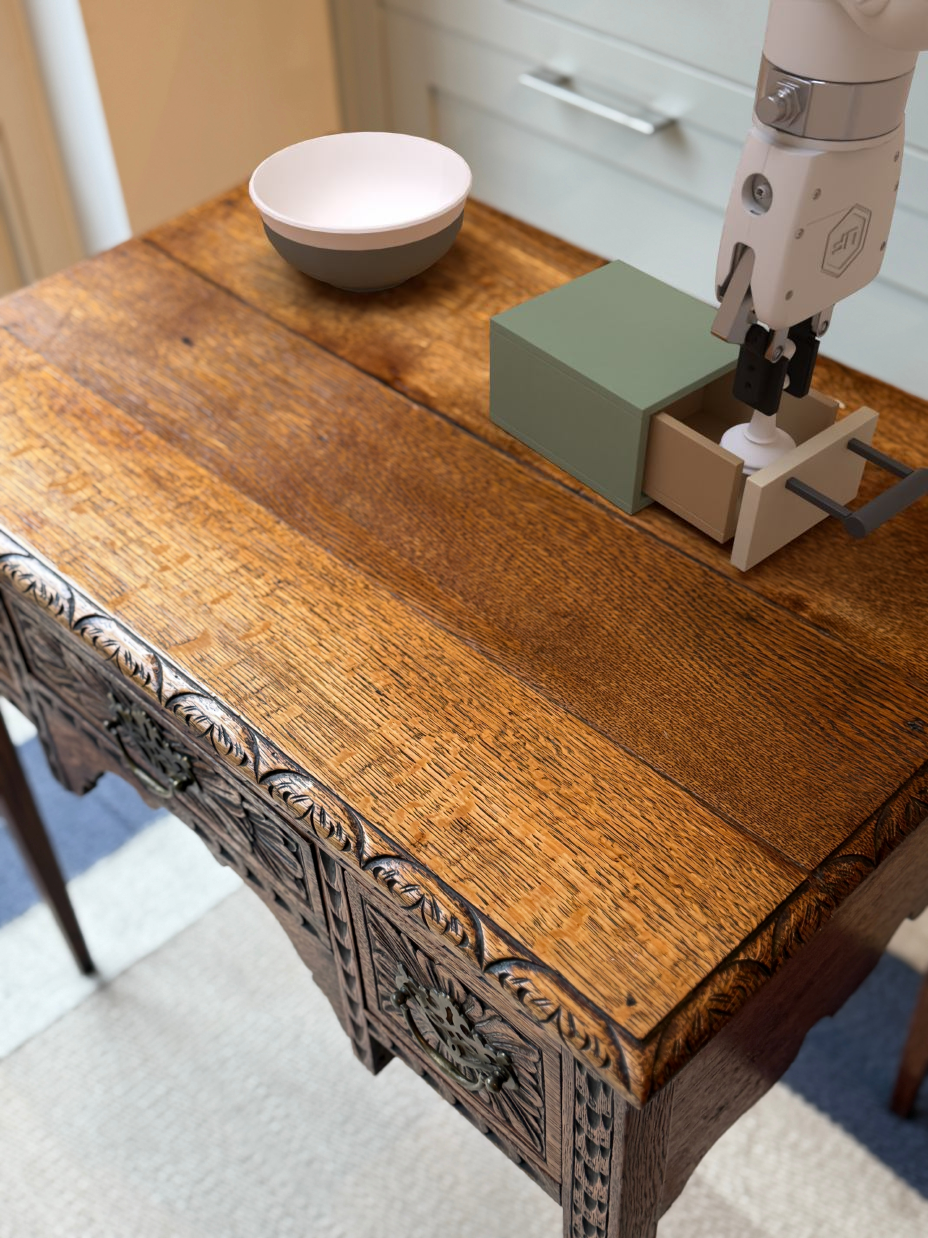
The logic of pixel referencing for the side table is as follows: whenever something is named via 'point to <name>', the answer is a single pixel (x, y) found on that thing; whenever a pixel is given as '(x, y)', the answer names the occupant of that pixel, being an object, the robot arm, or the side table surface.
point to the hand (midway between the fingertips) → (769, 394)
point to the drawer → (769, 471)
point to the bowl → (362, 206)
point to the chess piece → (760, 435)
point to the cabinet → (601, 372)
